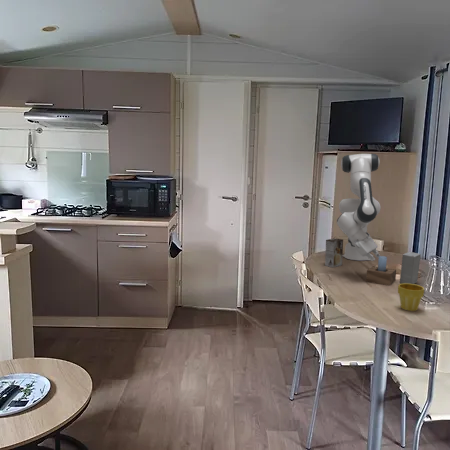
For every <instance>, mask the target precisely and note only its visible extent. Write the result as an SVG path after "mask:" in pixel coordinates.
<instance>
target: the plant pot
mask: <svg viewBox="0 0 450 450" xmlns="http://www.w3.org/2000/svg"><path fill="white" fill-rule="evenodd" d="M397 293H398V296H399V302H400V308H401V309H402V310H405V311H409V312H416V311H418V309H419V305H420V303H421V301H422V298H423V297H424V295H425V287H423V286H422V285H419V284H417V283H415V284H409V283H400V284H398V287H397Z"/></svg>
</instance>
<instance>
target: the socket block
mask: <svg viewBox="0 0 450 450" xmlns="http://www.w3.org/2000/svg"><path fill="white" fill-rule="evenodd" d="M396 277H397V269H395V268H388V267H386V272H383V271H378V266H372V267H370V268H368V269H367V270H366V278H365V279H366V280H365V282H366V283H373V284H376V285H377V284H378V285H385V286H388V287H389V286H391V285H392V284H394V283H395V281H396V280H397V278H396Z"/></svg>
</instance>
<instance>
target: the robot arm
mask: <svg viewBox="0 0 450 450" xmlns="http://www.w3.org/2000/svg"><path fill="white" fill-rule="evenodd" d="M380 164H381V161H380V157H379V155H378V154H376V153H358V154H357V153H356V154H355V153H354V154H350V155H349V154H346V155H344V156H343V157H342V159H341V161H340V167H341V170H342V171H343V173H348V174H349V173H350V176H349V177H350V181H349V183H350V191H351V193H352V194H353V195H355V196H357V197H358V198H354V197H353V198H351V197H349V198H343V199H341V200H340V202H339V203H338V210H339V212H340V213H341V214H340V215H339V217H338V218H337V219H336V225H337V226H338V228H339V230H341V231H342V233H343V234H344V235H346V236H347V243H346V244H345V247H344V254H343V255H342V258H345V259H348V260H351V261H371V262H374V261H376V258H377V259H379V256H381V254H380V253H379V250H378V249H377V248H378V247H379V246H378V245H377V243H376V241H374V239H373V238H372V236H371V234H370V233H369V232H368V225H369V224H371V222H372V221H374V219H376V217H377V216H378V215H379V214H380V212H381V209H382V208H381V204H380V202H379V200H377V199H376V198H375V197H374V196H373V190H372V188H373V187H372V173H373V172H375V171H377V170H378V169H379V167H380ZM371 253H373V254H371Z"/></svg>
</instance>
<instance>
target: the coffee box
mask: <svg viewBox="0 0 450 450" xmlns="http://www.w3.org/2000/svg"><path fill="white" fill-rule="evenodd" d="M343 249H344V239H341V238H329V239H326V240H325V259H324V266H326V267H330V268H337V267H340V266H343V256H342V255H344V254H343V252H344V251H343Z"/></svg>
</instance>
